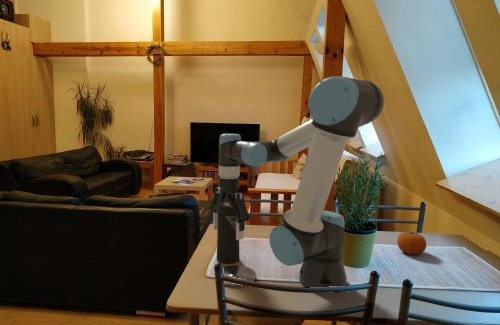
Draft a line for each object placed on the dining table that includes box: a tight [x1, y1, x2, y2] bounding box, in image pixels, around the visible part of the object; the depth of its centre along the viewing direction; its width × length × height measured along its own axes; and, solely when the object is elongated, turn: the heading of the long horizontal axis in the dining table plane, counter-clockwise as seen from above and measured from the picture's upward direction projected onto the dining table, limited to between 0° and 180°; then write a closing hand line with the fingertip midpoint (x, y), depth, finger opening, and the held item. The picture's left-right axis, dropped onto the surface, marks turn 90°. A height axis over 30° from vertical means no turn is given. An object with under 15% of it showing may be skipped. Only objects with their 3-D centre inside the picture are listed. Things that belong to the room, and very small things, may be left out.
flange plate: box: [222, 264, 257, 288], centre depth 114 cm, size 13×13×1 cm
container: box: [216, 204, 240, 264], centre depth 127 cm, size 9×9×20 cm
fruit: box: [396, 231, 427, 255], centre depth 139 cm, size 11×10×8 cm
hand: (227, 233), depth 128 cm, fingers open, 13 cm apart
